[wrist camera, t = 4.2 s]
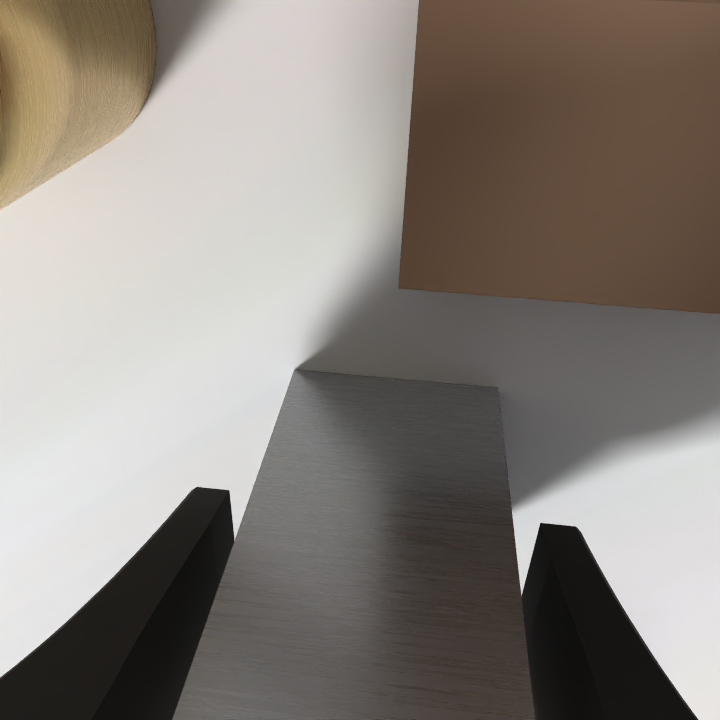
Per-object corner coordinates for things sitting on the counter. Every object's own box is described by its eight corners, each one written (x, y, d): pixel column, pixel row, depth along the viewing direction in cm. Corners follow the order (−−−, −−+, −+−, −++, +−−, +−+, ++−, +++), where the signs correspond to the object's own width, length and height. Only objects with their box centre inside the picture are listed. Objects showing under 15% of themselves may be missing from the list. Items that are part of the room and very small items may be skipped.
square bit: (497, 387, 13) (553, 883, 6) (472, 531, 15) (491, 1012, 8) (294, 369, 13) (136, 822, 6) (298, 513, 15) (183, 962, 9)
